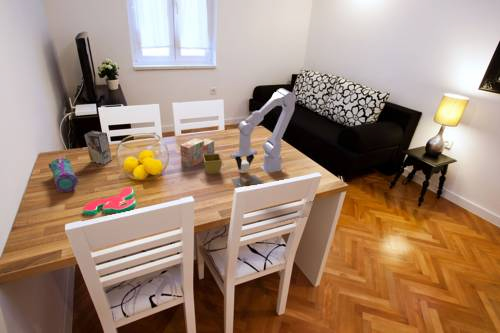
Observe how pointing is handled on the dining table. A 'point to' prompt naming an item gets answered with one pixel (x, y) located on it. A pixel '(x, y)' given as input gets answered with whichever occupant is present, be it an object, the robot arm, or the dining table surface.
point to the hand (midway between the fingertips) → (243, 168)
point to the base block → (246, 181)
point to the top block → (244, 166)
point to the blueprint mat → (254, 177)
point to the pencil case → (63, 175)
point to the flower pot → (212, 163)
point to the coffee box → (98, 147)
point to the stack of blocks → (195, 151)
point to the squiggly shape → (112, 203)
